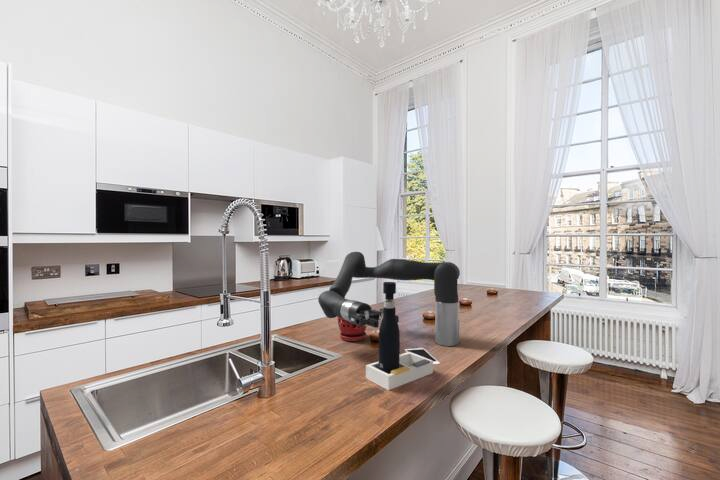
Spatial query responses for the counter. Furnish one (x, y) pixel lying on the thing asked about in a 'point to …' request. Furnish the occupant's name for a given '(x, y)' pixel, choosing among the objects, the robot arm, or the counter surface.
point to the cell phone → (423, 354)
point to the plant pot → (351, 330)
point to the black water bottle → (389, 332)
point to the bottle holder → (400, 371)
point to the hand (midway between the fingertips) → (388, 321)
